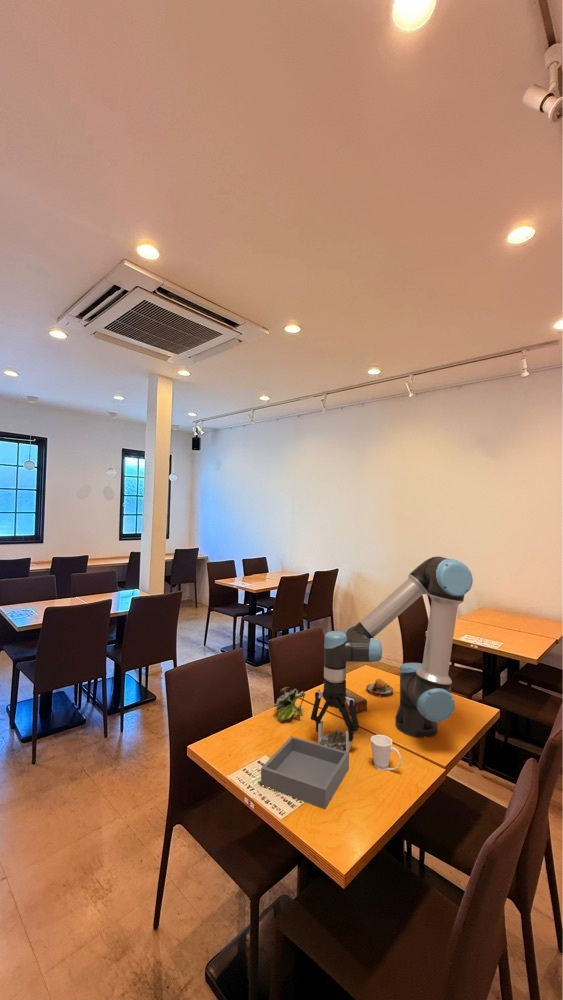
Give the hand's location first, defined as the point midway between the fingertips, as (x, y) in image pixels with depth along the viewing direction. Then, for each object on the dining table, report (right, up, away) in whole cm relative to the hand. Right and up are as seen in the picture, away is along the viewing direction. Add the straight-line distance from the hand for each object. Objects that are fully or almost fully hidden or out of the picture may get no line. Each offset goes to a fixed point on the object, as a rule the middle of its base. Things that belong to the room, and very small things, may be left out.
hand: (334, 746), depth 139 cm
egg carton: (0, -1, 0) cm, 1 cm away
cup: (+15, -1, -11) cm, 18 cm away
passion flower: (-14, -2, +22) cm, 26 cm away
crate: (-10, 0, -16) cm, 19 cm away
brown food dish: (+26, -4, +46) cm, 53 cm away
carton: (+8, -3, +33) cm, 34 cm away
